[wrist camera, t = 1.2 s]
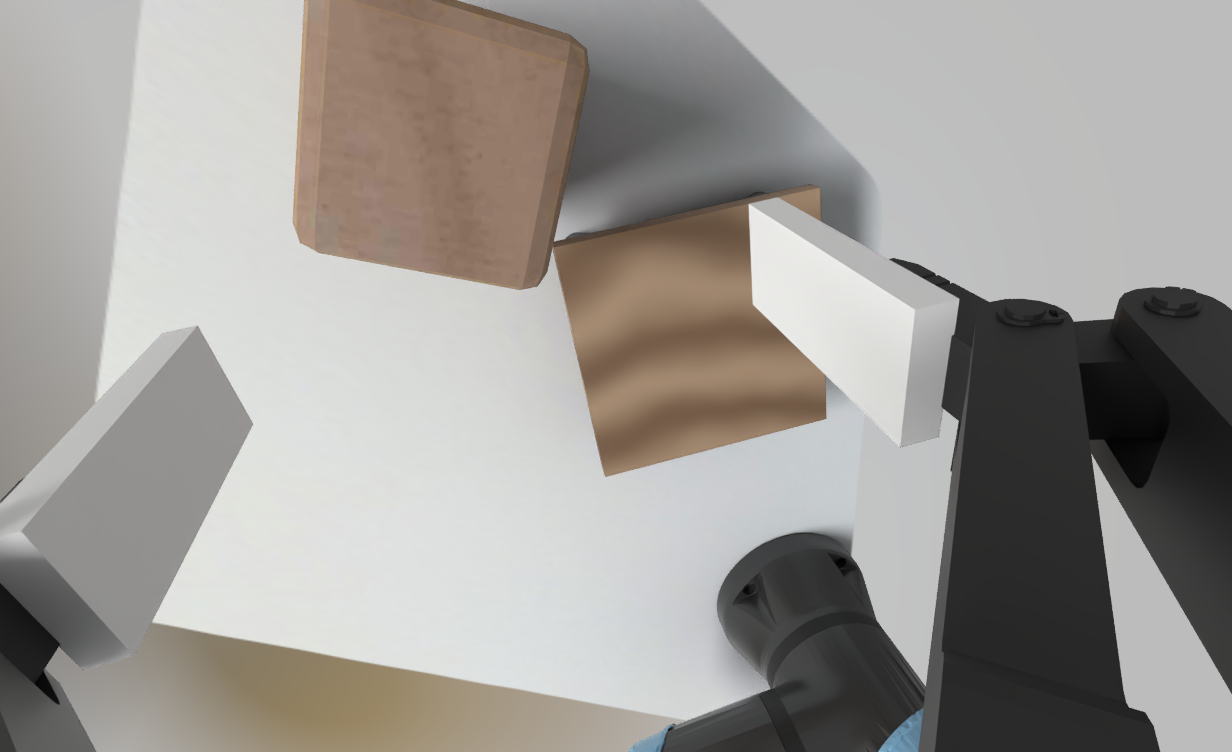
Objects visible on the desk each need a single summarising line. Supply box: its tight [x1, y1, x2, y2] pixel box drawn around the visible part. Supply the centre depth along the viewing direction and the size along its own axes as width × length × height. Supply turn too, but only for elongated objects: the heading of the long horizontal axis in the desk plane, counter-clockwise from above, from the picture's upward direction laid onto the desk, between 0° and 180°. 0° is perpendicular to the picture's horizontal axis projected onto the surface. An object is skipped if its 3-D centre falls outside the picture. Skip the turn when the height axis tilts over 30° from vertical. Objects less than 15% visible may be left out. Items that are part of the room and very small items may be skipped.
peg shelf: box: [552, 184, 826, 477], centre depth 47 cm, size 18×18×6 cm
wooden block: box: [293, 0, 589, 290], centre depth 32 cm, size 10×10×20 cm
